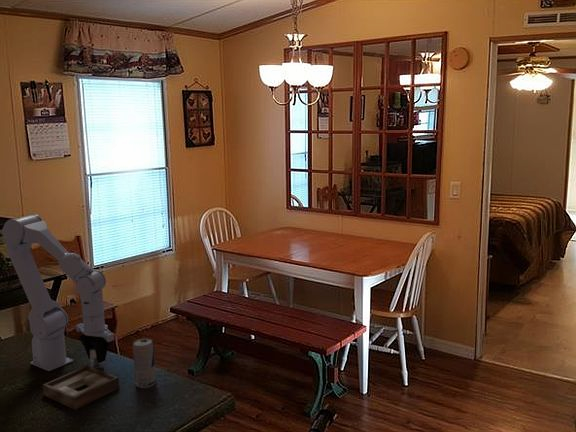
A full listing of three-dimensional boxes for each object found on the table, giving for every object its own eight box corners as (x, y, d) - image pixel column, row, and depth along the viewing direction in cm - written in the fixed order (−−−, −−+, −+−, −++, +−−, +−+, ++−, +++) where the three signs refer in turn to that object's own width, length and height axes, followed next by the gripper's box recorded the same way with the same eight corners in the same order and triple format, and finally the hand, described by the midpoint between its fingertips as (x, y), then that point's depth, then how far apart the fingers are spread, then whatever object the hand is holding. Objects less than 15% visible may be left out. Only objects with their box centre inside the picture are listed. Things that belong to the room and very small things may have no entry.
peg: (88, 365, 162) (86, 349, 161) (98, 360, 165) (97, 344, 164) (96, 368, 160) (94, 351, 159) (106, 363, 163) (105, 347, 162)
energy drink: (157, 379, 155) (155, 337, 153) (153, 388, 150) (151, 345, 148) (138, 379, 155) (135, 338, 153) (133, 389, 150) (130, 346, 147)
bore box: (43, 395, 147) (42, 384, 147) (88, 375, 158) (87, 365, 158) (75, 409, 140) (74, 398, 139) (119, 387, 150) (118, 377, 150)
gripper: (121, 314, 158) (125, 360, 161) (89, 305, 167) (92, 349, 169) (100, 322, 153) (104, 369, 155) (68, 312, 161) (72, 357, 163)
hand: (97, 359), depth 162 cm, fingers closed on peg, 4 cm apart
